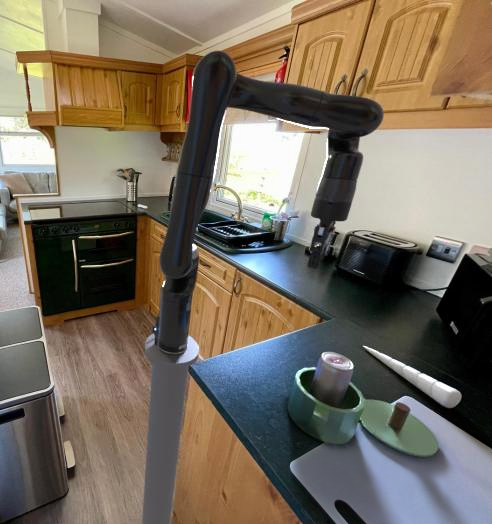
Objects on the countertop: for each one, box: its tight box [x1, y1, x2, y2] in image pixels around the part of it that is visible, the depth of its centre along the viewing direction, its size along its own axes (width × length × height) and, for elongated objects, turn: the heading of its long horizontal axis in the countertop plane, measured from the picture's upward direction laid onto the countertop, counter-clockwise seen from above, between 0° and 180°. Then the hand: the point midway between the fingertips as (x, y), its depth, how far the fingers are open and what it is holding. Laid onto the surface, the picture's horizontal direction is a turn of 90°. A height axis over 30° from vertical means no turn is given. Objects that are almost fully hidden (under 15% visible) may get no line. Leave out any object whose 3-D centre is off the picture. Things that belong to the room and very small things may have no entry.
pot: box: [287, 367, 366, 445], centre depth 63 cm, size 13×18×8 cm
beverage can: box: [309, 351, 354, 409], centre depth 62 cm, size 6×6×15 cm
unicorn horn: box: [362, 345, 462, 409], centre depth 78 cm, size 5×24×5 cm, turn 6°
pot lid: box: [359, 399, 439, 458], centre depth 61 cm, size 14×14×6 cm
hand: (315, 263), depth 73 cm, fingers open, 8 cm apart
